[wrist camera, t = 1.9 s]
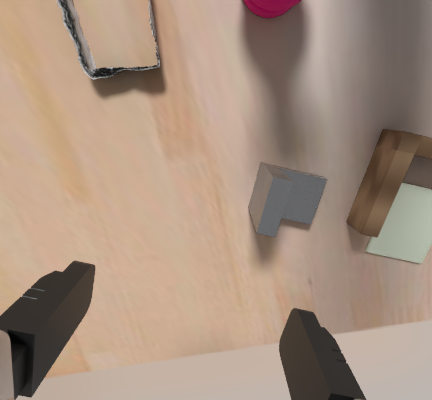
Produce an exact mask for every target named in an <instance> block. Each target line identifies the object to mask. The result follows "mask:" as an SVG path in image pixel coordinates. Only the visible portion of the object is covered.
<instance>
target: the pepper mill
mask: <svg viewBox="0 0 432 400" xmlns="http://www.w3.org/2000/svg"><path fill="white" fill-rule="evenodd" d="M300 1H301V0H244V2H245V4H246V5H247V7H248V8H249V9H250V10H251V11H252V12H253V13H254V14H256V15H258V16H261V17H265V18H274V17H277V16H280V15H282V14H284V13H285V12H287V11H288V10H289V9H290V8H291V7H292V6H294V5H296V4H297V3H299V2H300Z"/></svg>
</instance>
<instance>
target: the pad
mask: <svg viewBox="0 0 432 400" xmlns="http://www.w3.org/2000/svg"><path fill="white" fill-rule="evenodd" d="M431 244H432V189H429V188H424V187H420V186H416V185H411V184H407V183H403V182H402V184H401V186H400V188H399V190H398V193H397V195H396V197H395V199H394V202H393V204H392V206H391V208H390V211H389V213H388V215H387V217H386V220H385V222H384V224H383V227H382V229H381V231H380V233H379V236H378V238H377V237H372V236H371V238H370V240H369V243H368V245H367V247H366V250H365V251H366V252H369V253H373V254H378V255H383V256H388V257H392V258H397V259H402V260H406V261H411V262H416V263H420V264H422V262H423V260H424V258H425V256H426V254H427V252H428V250H429V248H430V246H431Z"/></svg>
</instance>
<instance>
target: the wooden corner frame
mask: <svg viewBox="0 0 432 400" xmlns="http://www.w3.org/2000/svg"><path fill="white" fill-rule="evenodd" d="M414 155H416V156H421V157H425V158H429V159H432V138H429V137H425V136H421V135H417V134H413V133H409V132H405V131H395V130H386V129H383V131H382V133H381V136H380V138H379V141H378V143H377V146H376V148H375V151H374V153H373V156H372V158H371V161H370V163H369V166H368V168H367V171H366V173H365V176H364V178H363V181H362V183H361V186H360V188H359V191H358V193H357V196H356V198H355V201H354V203H353V206H352V208H351V211H350V214H349V216H348V219H347V222H348V223H349V224H350V225H351V226H352V227H354V228H355V229H356V230H357V231H358V232H359V233H361V234H363V235H367V236H372V237H377V238H378V236H379V233H380V231H381V229H382V227H383V224H384V222H385V220H386V217H387V215H388V213H389V211H390V208H391V206H392V204H393V202H394V199H395V197H396V195H397V193H398V190H399V188H400V186H401V184H402V181H403V179H404V177H405V175H406V172H407V170H408V168H409V166H410V163H411V161H412V159H413V157H414Z"/></svg>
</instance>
